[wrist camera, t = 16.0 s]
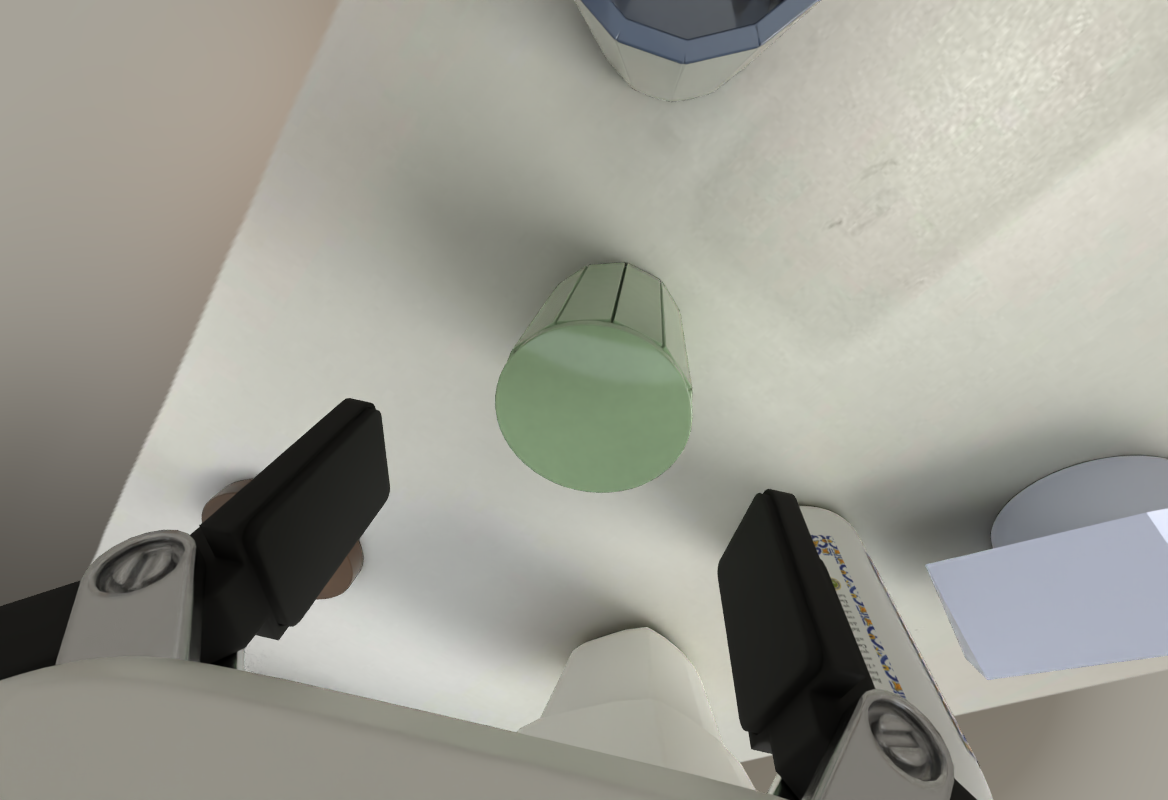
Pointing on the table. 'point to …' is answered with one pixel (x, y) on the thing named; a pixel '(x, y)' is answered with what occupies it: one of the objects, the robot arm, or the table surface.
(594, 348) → the green cup
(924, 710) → the bath foam
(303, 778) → the robot arm
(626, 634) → the bowl
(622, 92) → the table surface
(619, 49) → the blue cup
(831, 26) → the table surface
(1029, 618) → the wedge on round base
